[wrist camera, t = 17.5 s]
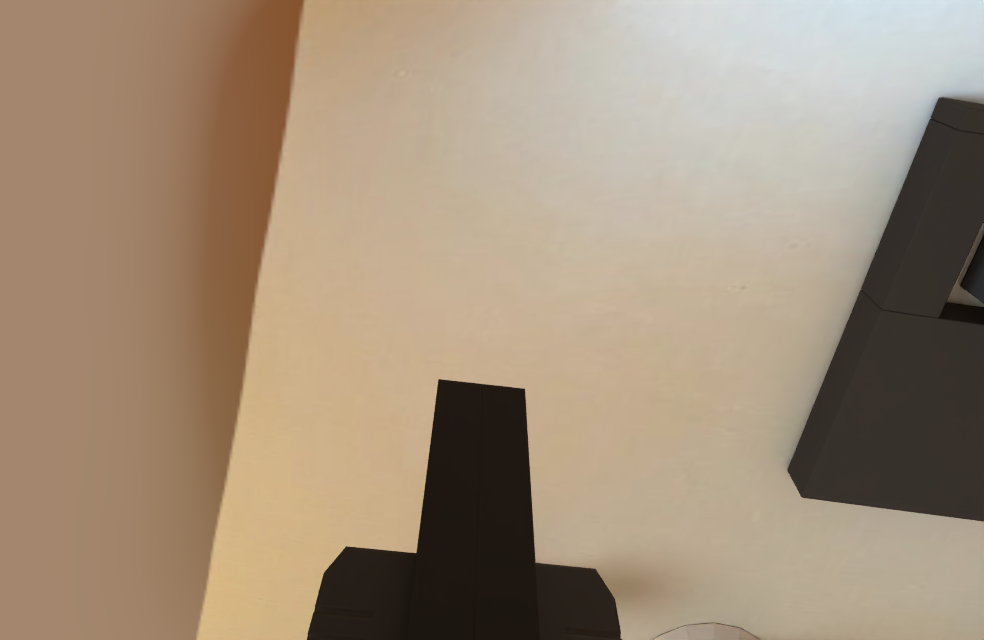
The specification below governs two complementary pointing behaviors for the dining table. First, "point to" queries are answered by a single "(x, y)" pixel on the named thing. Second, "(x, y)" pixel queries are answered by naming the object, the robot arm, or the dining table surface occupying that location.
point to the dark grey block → (976, 275)
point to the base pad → (911, 349)
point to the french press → (707, 633)
